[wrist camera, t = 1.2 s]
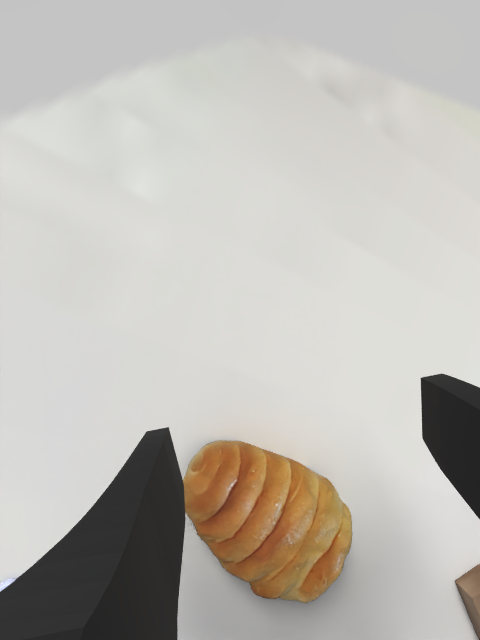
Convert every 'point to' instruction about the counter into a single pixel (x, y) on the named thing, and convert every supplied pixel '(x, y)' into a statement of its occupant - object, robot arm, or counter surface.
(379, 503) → the counter surface
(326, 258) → the counter surface
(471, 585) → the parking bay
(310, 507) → the pastry
